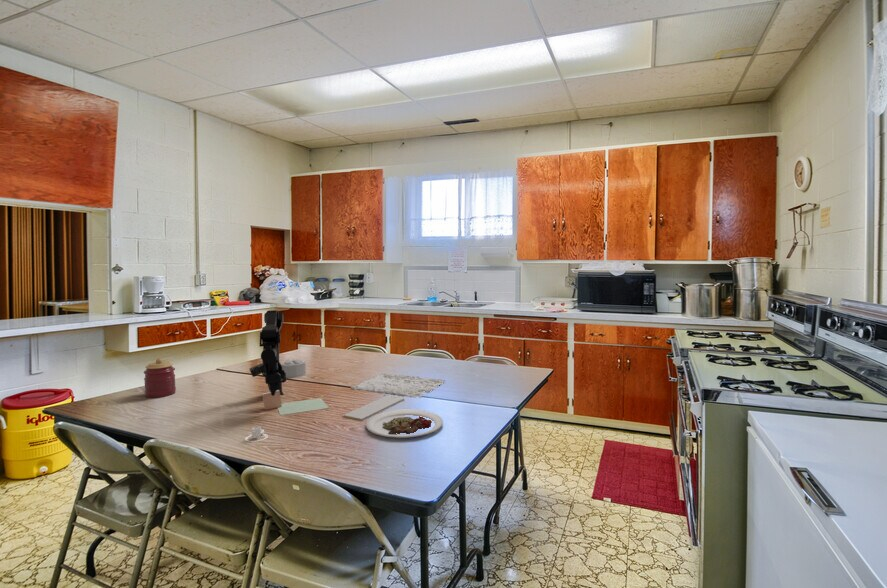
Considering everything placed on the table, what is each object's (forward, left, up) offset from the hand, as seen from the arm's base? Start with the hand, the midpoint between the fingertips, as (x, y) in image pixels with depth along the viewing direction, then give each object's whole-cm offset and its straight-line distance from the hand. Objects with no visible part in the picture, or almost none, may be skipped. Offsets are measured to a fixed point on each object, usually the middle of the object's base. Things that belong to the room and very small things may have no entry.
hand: (271, 392), depth 201 cm
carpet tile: (-9, +63, -8) cm, 64 cm away
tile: (0, 0, -7) cm, 7 cm away
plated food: (+46, +44, -8) cm, 64 cm away
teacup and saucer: (+32, -6, -8) cm, 34 cm away
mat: (+4, +12, -7) cm, 15 cm away
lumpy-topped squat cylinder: (-56, +17, -7) cm, 59 cm away
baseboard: (+19, +40, -8) cm, 45 cm away
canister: (-48, -46, -7) cm, 67 cm away
